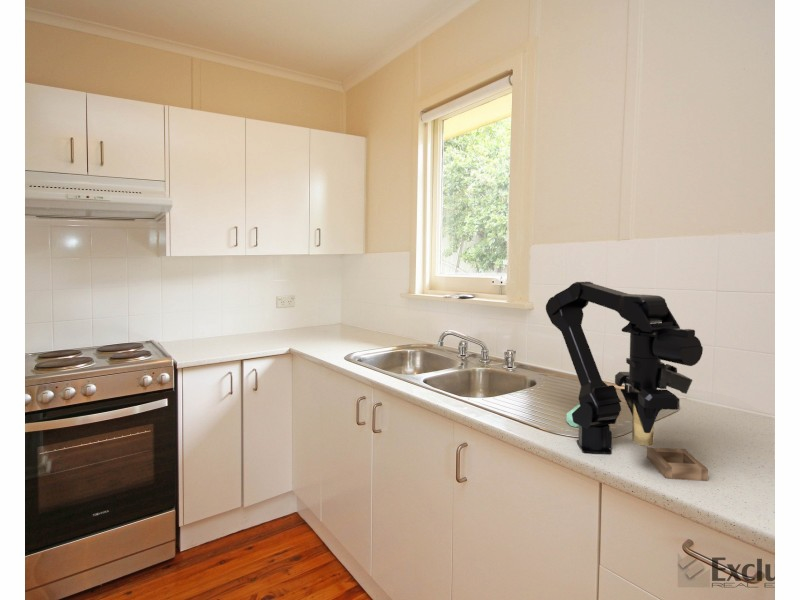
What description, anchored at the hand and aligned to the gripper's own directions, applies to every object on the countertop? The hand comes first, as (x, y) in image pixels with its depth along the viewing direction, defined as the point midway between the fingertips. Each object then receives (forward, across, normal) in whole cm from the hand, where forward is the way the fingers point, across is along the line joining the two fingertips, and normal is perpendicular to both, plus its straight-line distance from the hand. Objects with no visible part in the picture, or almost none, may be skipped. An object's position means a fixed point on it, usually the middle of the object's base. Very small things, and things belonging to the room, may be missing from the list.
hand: (642, 428), depth 95 cm
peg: (+3, 0, 0) cm, 3 cm away
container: (+10, +36, +2) cm, 38 cm away
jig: (+10, +3, -8) cm, 13 cm away
